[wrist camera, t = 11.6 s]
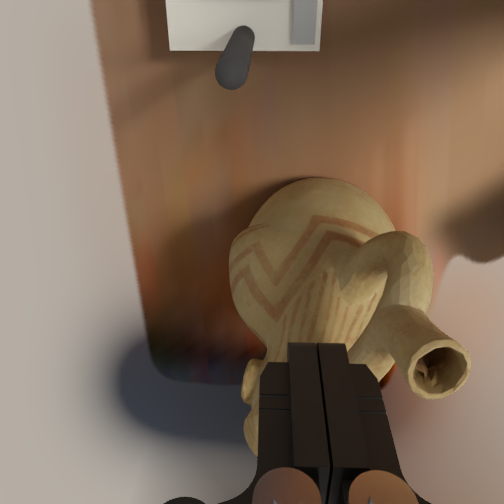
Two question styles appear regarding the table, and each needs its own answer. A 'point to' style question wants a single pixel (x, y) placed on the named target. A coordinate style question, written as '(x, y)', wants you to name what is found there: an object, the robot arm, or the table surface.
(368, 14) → the table surface
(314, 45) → the breaker board
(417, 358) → the ceramic vessel
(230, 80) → the dark grey rod
